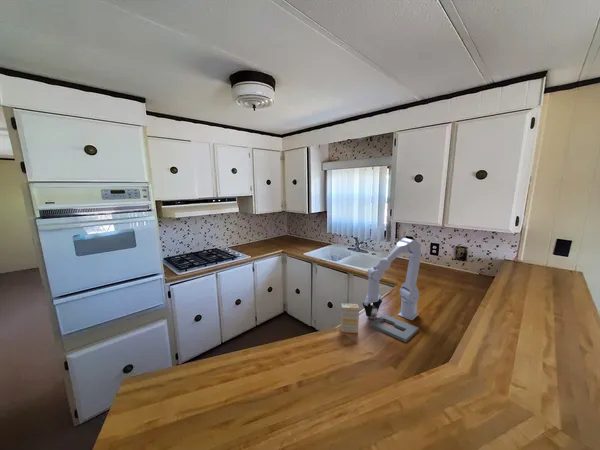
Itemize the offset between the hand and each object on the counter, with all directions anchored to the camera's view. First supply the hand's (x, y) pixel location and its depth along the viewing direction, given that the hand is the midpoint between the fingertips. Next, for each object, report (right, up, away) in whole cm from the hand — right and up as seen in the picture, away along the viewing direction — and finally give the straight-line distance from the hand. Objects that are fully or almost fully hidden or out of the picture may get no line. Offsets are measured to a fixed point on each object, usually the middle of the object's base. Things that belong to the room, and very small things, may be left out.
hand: (371, 314), depth 128 cm
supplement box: (-15, -4, -13) cm, 20 cm away
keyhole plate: (+8, -3, -10) cm, 13 cm away
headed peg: (0, -2, 0) cm, 2 cm away
